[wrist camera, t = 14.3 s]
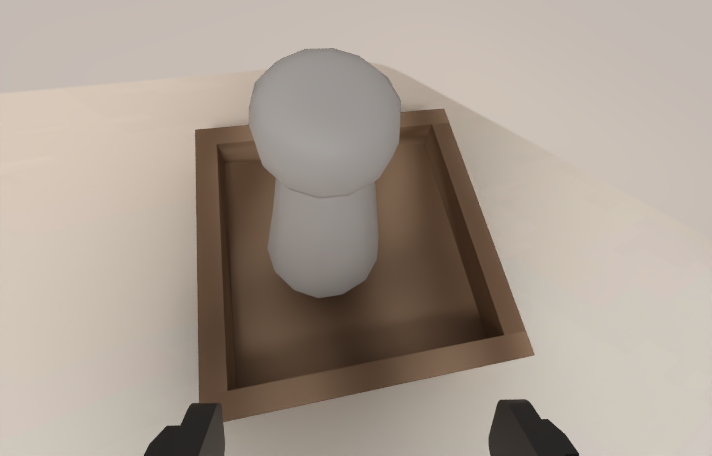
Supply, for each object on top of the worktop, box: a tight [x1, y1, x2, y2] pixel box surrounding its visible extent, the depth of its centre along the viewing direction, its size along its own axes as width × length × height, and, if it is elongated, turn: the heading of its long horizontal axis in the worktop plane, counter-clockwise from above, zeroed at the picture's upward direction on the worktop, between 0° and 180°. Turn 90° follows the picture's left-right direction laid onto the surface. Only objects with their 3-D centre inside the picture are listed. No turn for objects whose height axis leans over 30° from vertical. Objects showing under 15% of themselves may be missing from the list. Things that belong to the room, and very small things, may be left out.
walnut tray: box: [195, 109, 534, 422], centre depth 21 cm, size 16×16×3 cm
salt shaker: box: [249, 48, 401, 298], centre depth 15 cm, size 6×6×13 cm
